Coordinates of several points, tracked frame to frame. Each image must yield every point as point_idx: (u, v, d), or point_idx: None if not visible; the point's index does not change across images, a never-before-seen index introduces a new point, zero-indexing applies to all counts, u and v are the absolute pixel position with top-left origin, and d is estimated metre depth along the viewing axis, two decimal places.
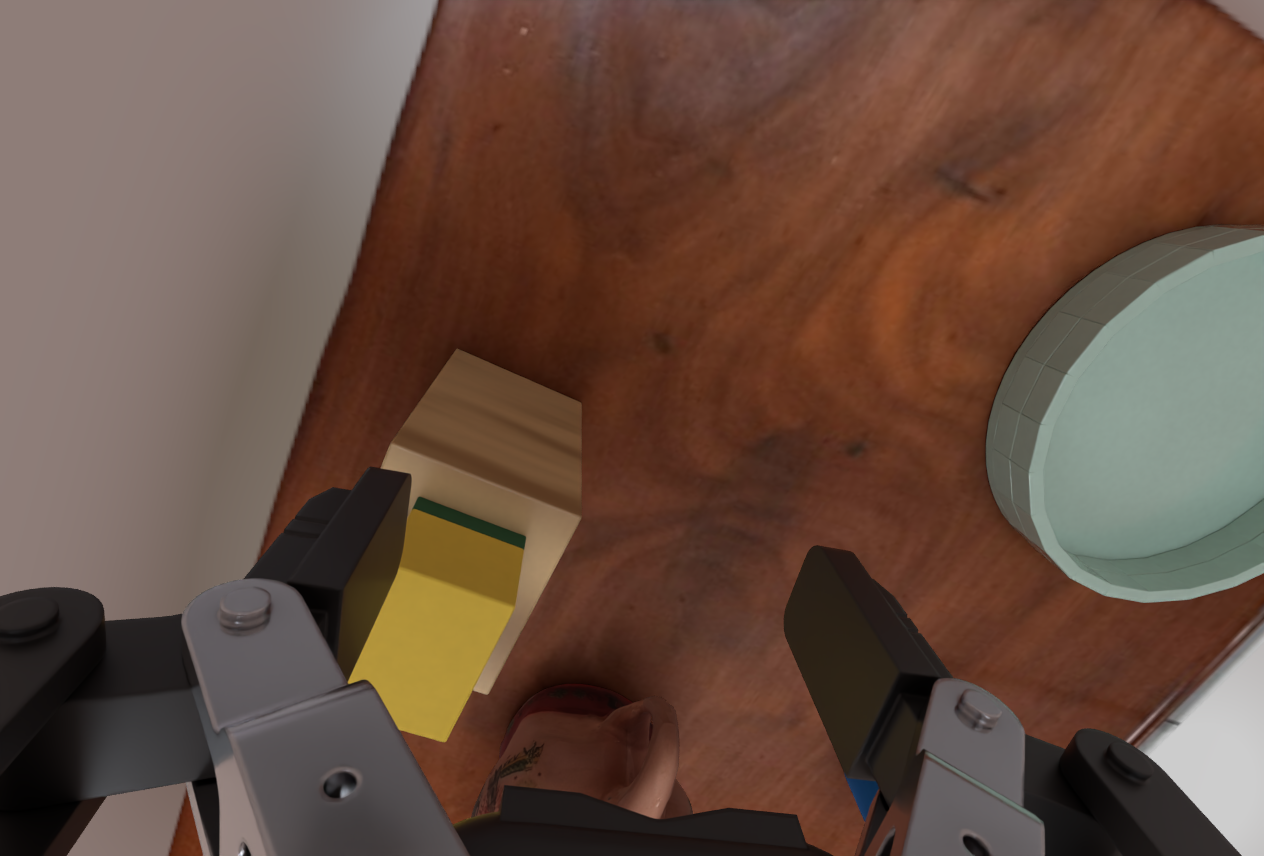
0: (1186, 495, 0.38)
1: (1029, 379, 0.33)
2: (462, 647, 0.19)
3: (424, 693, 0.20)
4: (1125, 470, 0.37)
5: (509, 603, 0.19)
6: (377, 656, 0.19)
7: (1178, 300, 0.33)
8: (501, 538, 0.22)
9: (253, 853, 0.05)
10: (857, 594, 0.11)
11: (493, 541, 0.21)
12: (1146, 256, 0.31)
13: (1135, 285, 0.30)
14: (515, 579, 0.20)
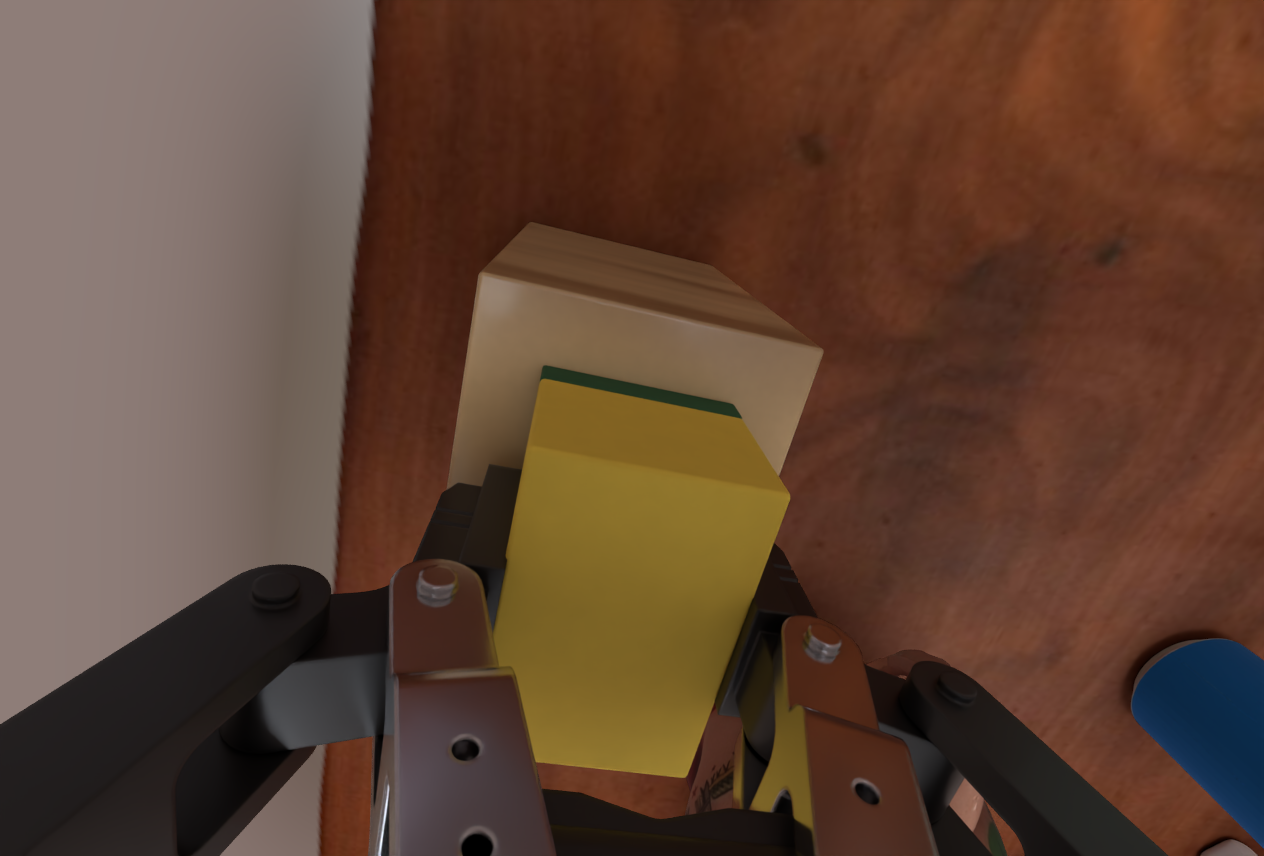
0: None
1: None
2: (697, 596, 0.10)
3: (638, 696, 0.11)
4: None
5: (777, 491, 0.10)
6: (543, 642, 0.10)
7: None
8: (700, 407, 0.12)
9: (390, 786, 0.06)
10: None
11: (690, 411, 0.12)
12: None
13: None
14: (761, 456, 0.11)
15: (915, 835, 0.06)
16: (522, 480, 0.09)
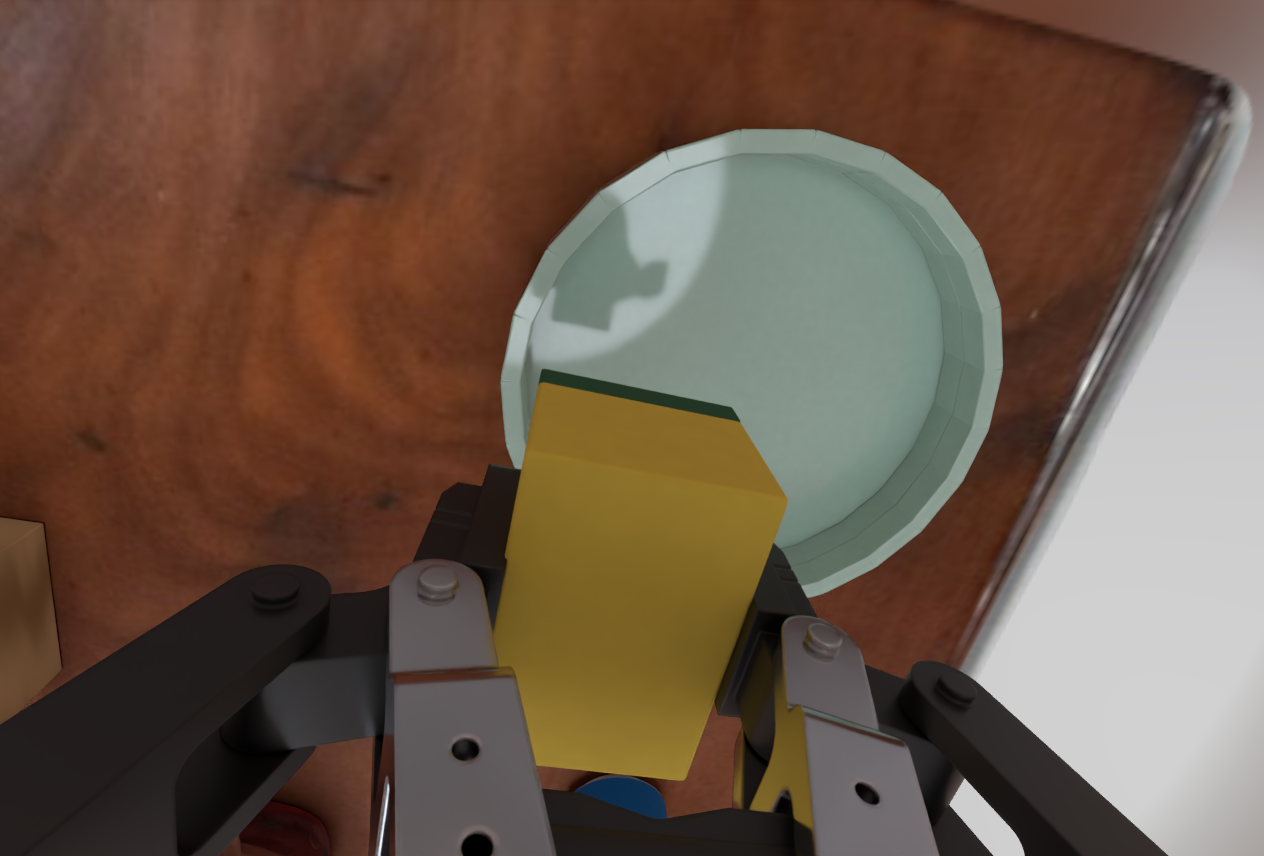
0: (809, 464, 0.31)
1: None
2: (695, 601, 0.10)
3: (637, 699, 0.11)
4: None
5: (775, 495, 0.10)
6: (542, 647, 0.10)
7: (666, 248, 0.26)
8: (698, 410, 0.12)
9: (390, 786, 0.06)
10: None
11: (689, 415, 0.12)
12: (576, 211, 0.25)
13: (542, 255, 0.24)
14: (759, 460, 0.11)
15: (915, 836, 0.06)
16: (520, 484, 0.09)
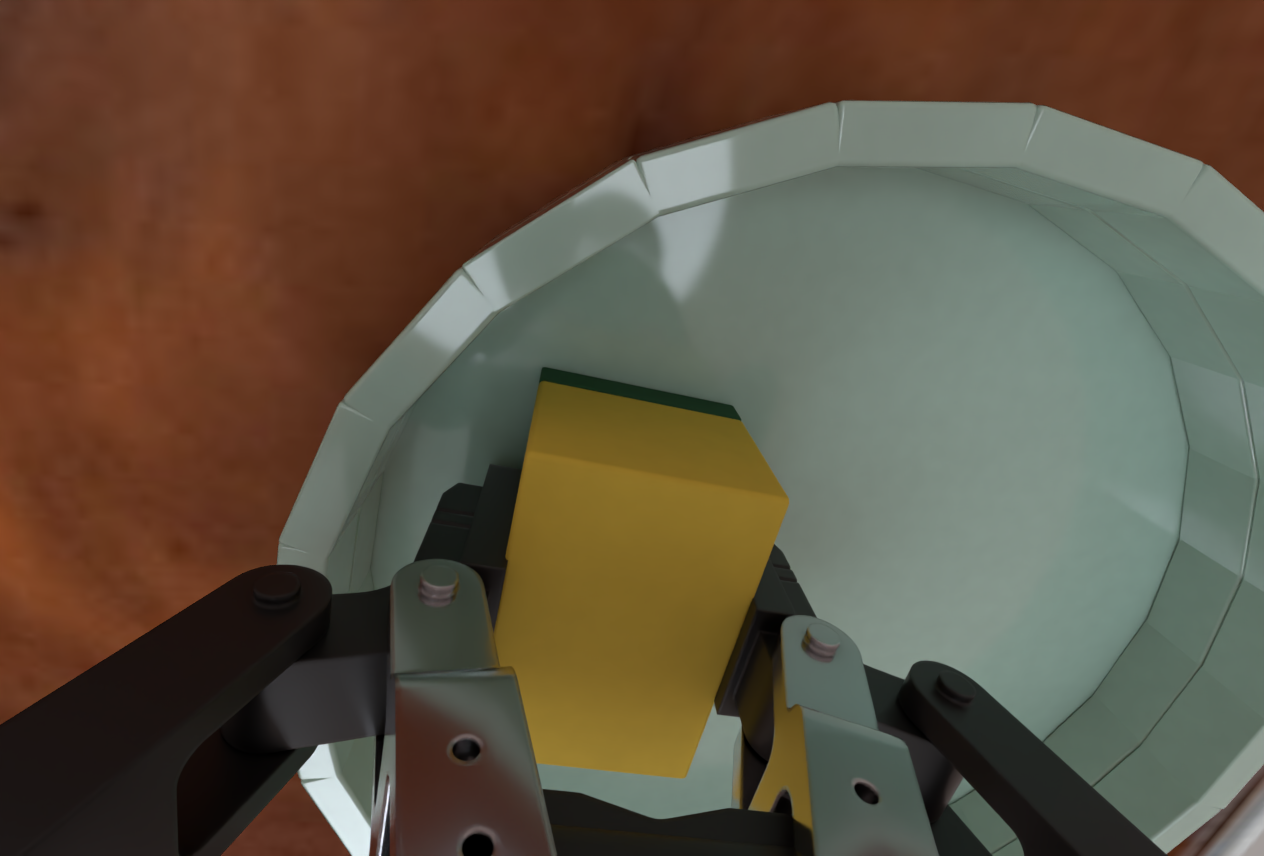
0: None
1: None
2: (697, 601, 0.10)
3: (637, 699, 0.11)
4: None
5: (776, 496, 0.10)
6: (543, 646, 0.10)
7: (647, 360, 0.13)
8: (699, 409, 0.12)
9: (391, 785, 0.06)
10: None
11: (689, 413, 0.12)
12: None
13: None
14: (760, 459, 0.11)
15: (915, 835, 0.06)
16: (521, 485, 0.09)
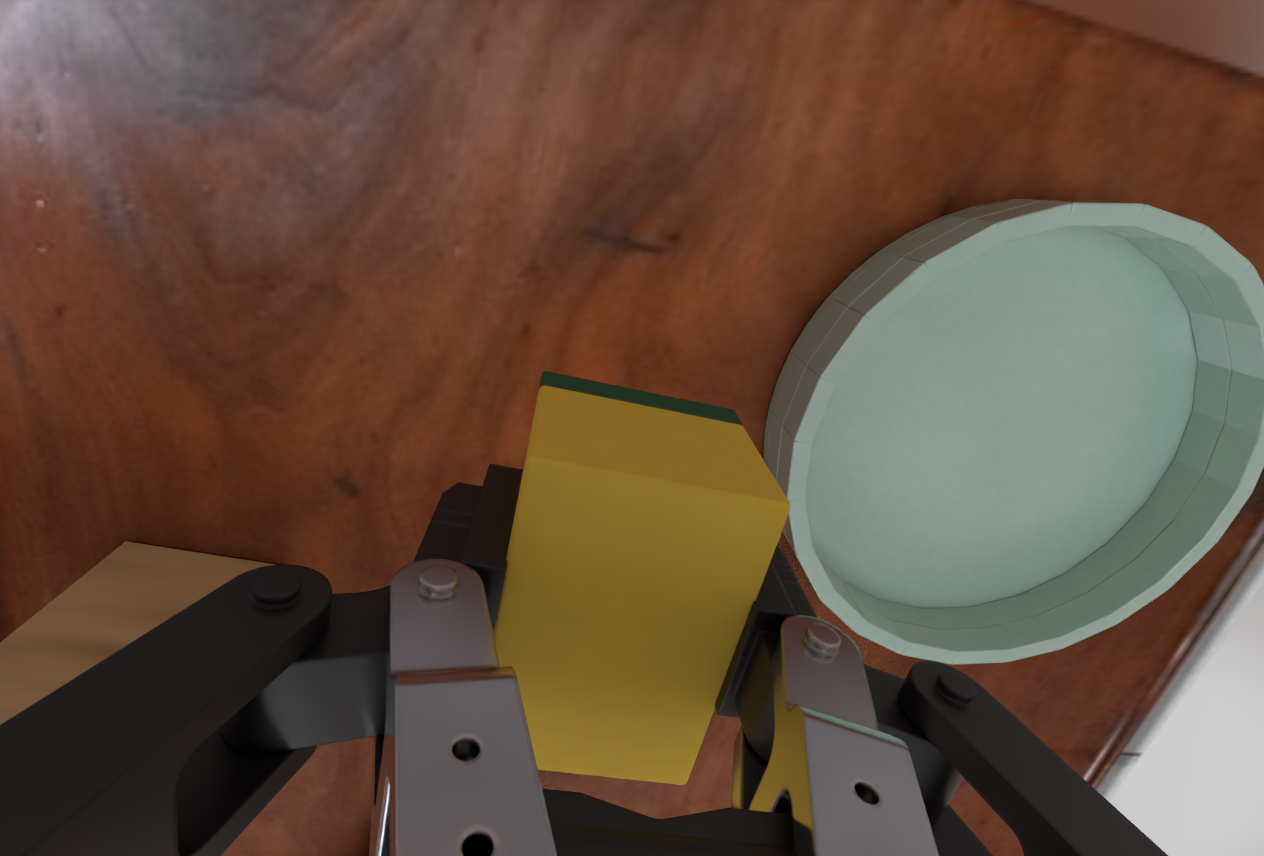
0: (1043, 518, 0.31)
1: (776, 443, 0.27)
2: (697, 606, 0.10)
3: (638, 704, 0.11)
4: (953, 507, 0.30)
5: (777, 501, 0.09)
6: (543, 652, 0.10)
7: (942, 308, 0.27)
8: (700, 413, 0.12)
9: (390, 786, 0.06)
10: None
11: (690, 418, 0.12)
12: (871, 273, 0.25)
13: (849, 319, 0.24)
14: (761, 464, 0.11)
15: (915, 835, 0.06)
16: (521, 490, 0.09)
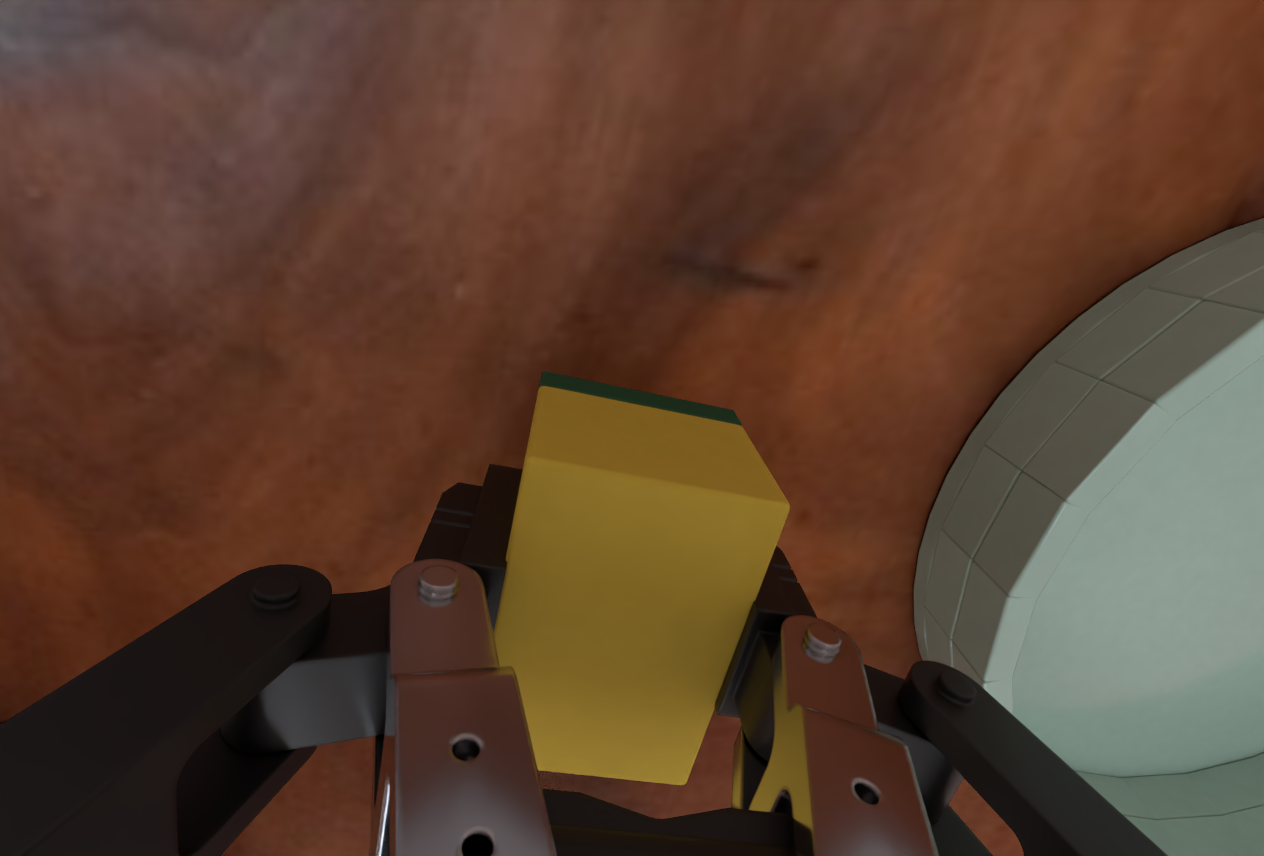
0: None
1: (954, 579, 0.18)
2: (697, 607, 0.10)
3: (637, 705, 0.11)
4: (1183, 649, 0.21)
5: (776, 501, 0.09)
6: (542, 652, 0.10)
7: None
8: (699, 414, 0.12)
9: (390, 785, 0.06)
10: None
11: (690, 418, 0.12)
12: (1131, 323, 0.15)
13: (1114, 405, 0.14)
14: (760, 465, 0.11)
15: (915, 835, 0.06)
16: (521, 491, 0.09)
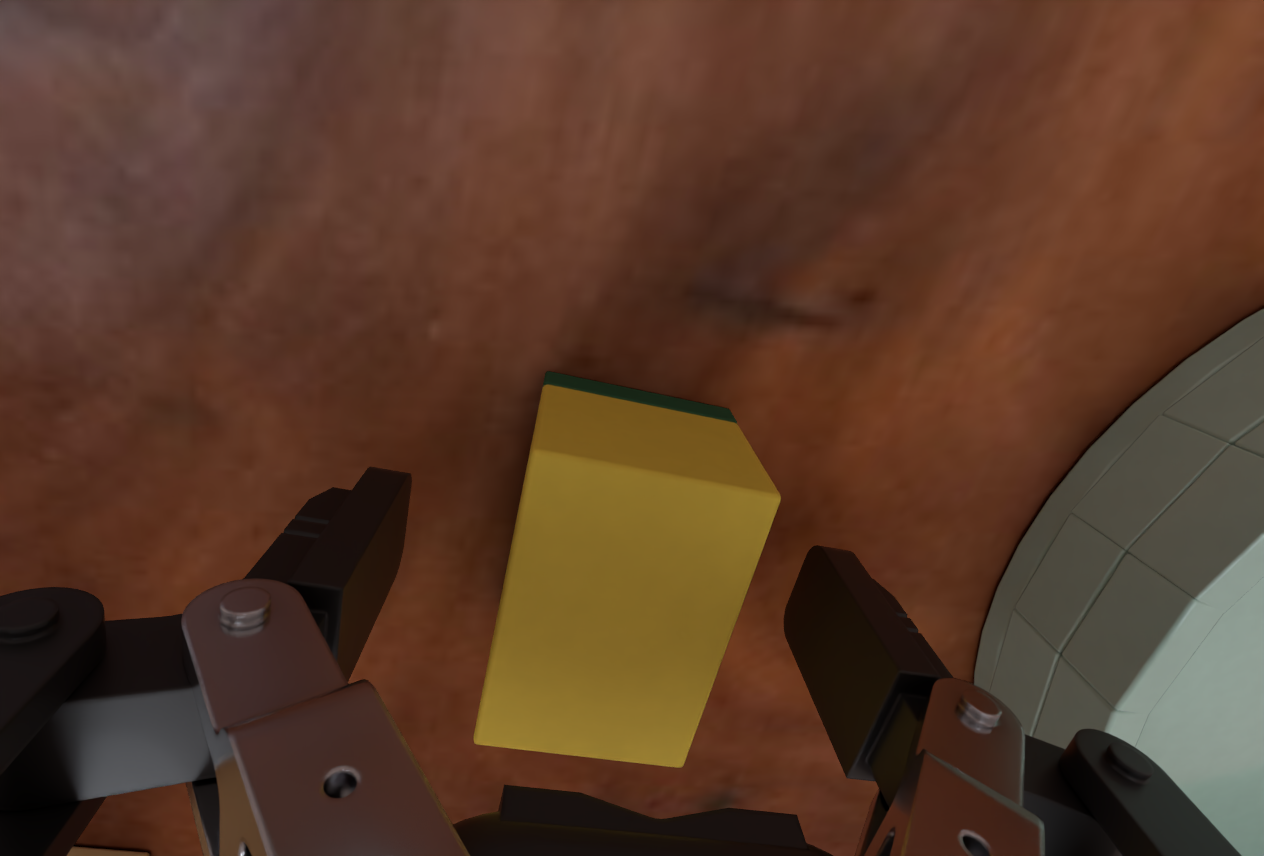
0: None
1: (1032, 673, 0.15)
2: (692, 593, 0.10)
3: (636, 689, 0.11)
4: None
5: (768, 492, 0.10)
6: (546, 637, 0.11)
7: None
8: (696, 412, 0.13)
9: (253, 852, 0.05)
10: (857, 594, 0.11)
11: (686, 416, 0.12)
12: None
13: (1256, 478, 0.11)
14: (754, 459, 0.11)
15: None
16: (526, 481, 0.10)
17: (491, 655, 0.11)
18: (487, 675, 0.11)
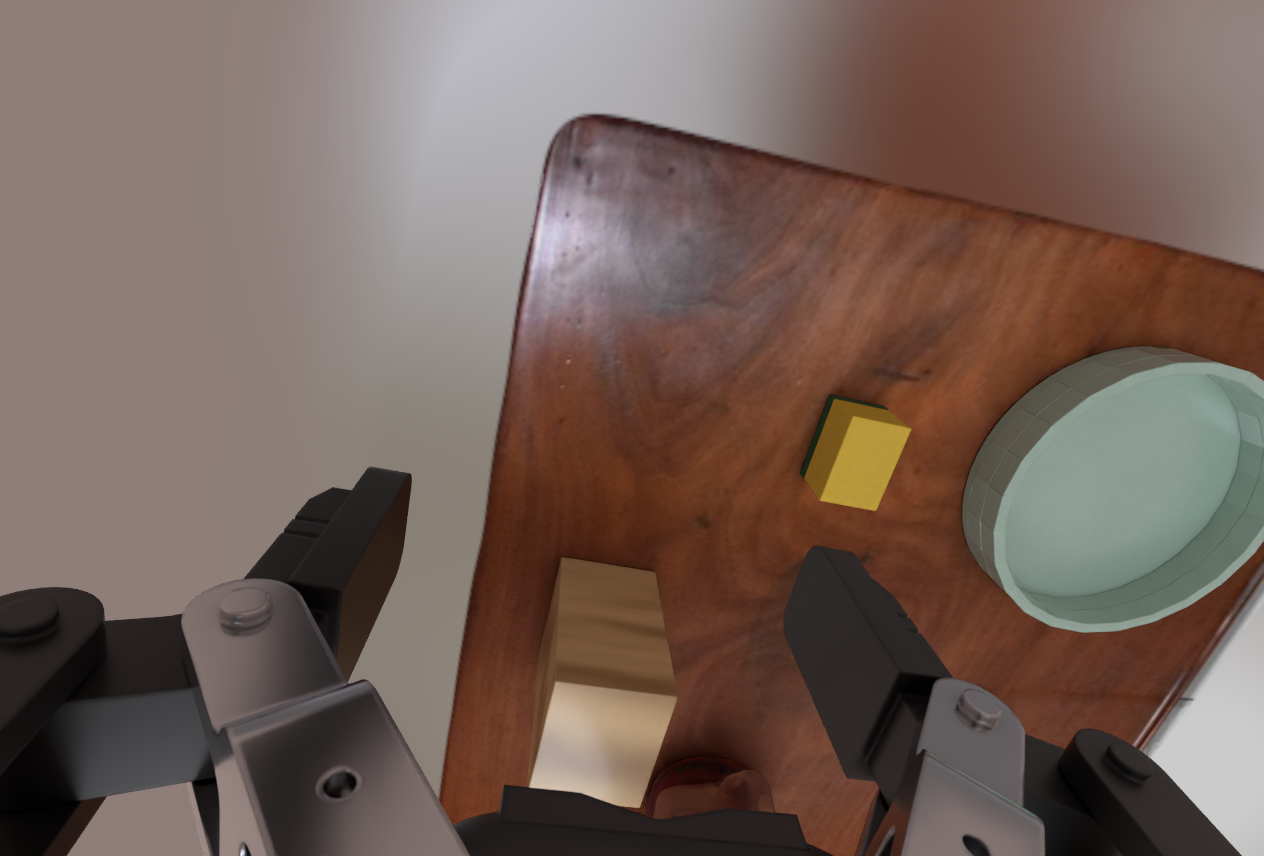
0: (1138, 537, 0.47)
1: (981, 494, 0.44)
2: (886, 455, 0.40)
3: (867, 483, 0.40)
4: (1081, 531, 0.47)
5: (908, 427, 0.39)
6: (846, 467, 0.40)
7: (1085, 411, 0.43)
8: (876, 407, 0.42)
9: (253, 853, 0.05)
10: (857, 594, 0.11)
11: (875, 408, 0.42)
12: (1048, 394, 0.42)
13: (1040, 425, 0.40)
14: (900, 420, 0.40)
15: None
16: (850, 424, 0.39)
17: (830, 472, 0.40)
18: (828, 478, 0.40)
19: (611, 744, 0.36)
